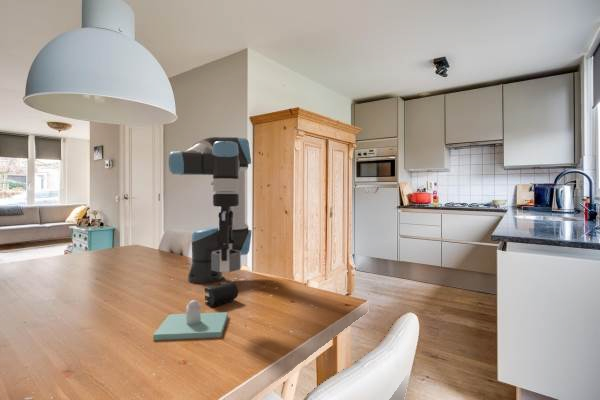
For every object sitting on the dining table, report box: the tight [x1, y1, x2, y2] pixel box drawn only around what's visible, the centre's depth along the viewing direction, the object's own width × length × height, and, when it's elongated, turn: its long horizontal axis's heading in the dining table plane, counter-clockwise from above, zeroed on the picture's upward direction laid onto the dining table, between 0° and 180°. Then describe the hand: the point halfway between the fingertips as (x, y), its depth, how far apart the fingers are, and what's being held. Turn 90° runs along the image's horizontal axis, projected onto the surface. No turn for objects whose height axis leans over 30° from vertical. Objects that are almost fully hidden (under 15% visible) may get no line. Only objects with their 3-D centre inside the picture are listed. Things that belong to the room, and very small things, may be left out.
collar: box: [211, 249, 242, 273], centre depth 95 cm, size 8×8×5 cm
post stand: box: [152, 299, 229, 341], centre depth 92 cm, size 14×18×8 cm
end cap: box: [204, 281, 239, 308], centre depth 112 cm, size 10×7×7 cm
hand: (226, 267), depth 95 cm, fingers closed on collar, 8 cm apart
